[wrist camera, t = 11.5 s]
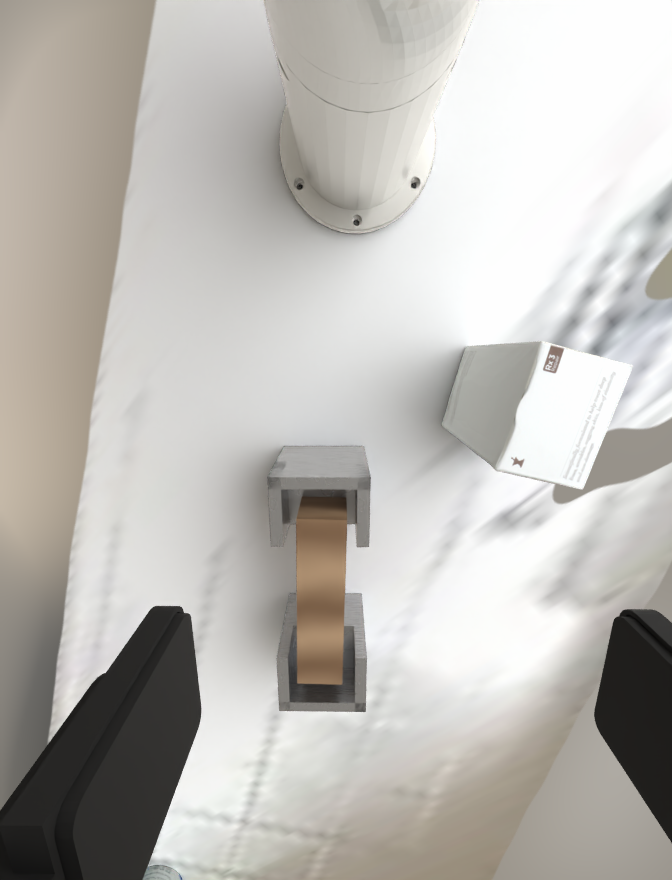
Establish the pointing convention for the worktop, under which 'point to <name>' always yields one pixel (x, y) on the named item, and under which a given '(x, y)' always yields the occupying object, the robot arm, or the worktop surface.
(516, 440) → the skincare box
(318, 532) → the walnut rail
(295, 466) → the brackets
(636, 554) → the worktop surface
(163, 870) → the spray paint can
